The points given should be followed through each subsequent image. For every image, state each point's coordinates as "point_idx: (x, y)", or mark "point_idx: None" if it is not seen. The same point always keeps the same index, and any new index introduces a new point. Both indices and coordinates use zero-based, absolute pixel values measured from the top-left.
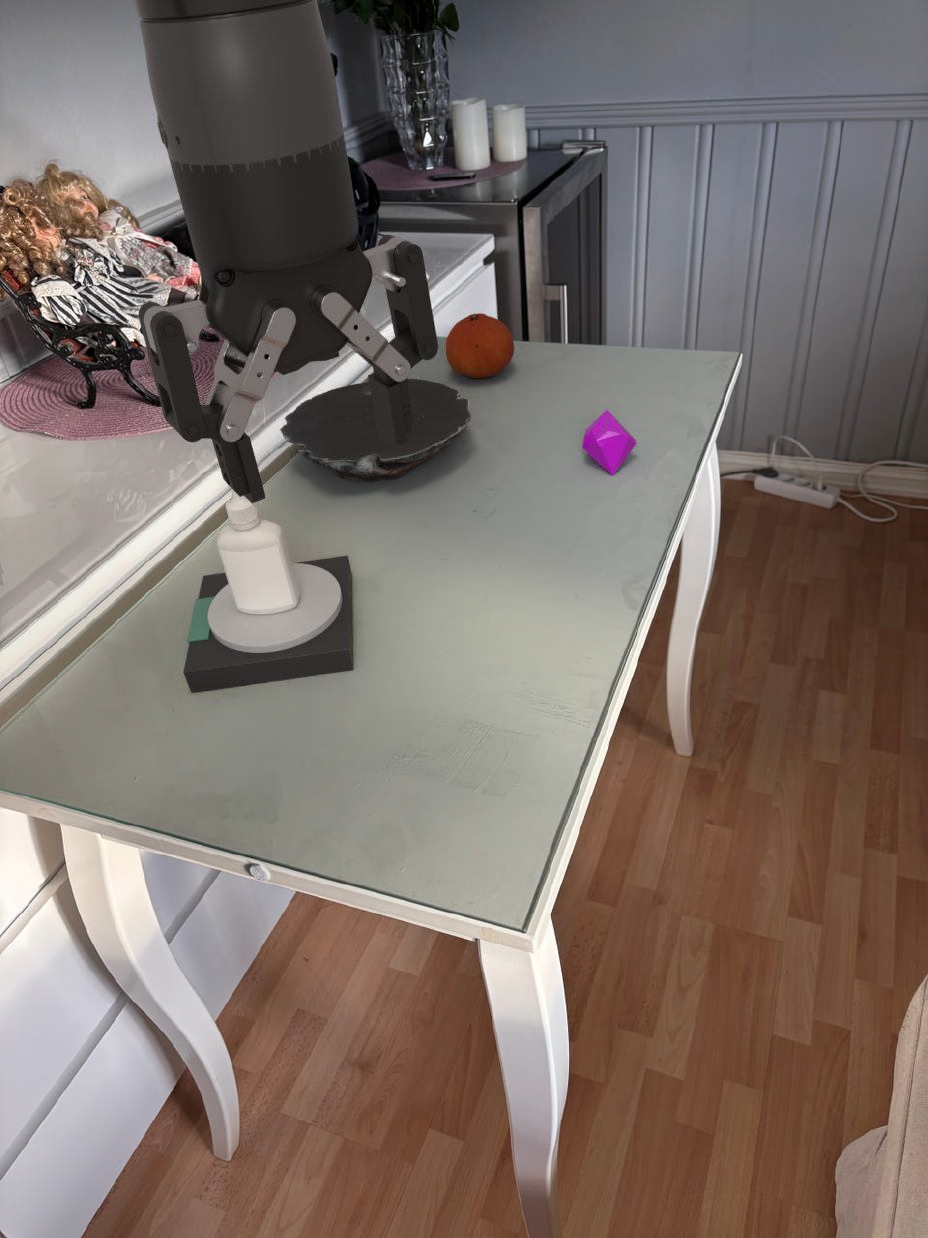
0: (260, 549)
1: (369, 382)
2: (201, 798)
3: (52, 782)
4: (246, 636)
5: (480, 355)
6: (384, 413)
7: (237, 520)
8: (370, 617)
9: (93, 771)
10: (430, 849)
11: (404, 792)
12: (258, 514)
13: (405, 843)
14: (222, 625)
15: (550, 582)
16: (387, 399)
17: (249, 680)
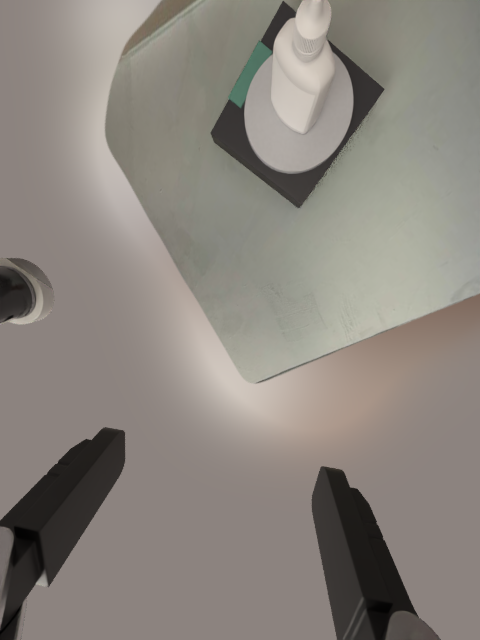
0: (299, 89)
1: (354, 576)
2: (182, 233)
3: (122, 154)
4: (258, 136)
5: None
6: (328, 541)
7: (296, 44)
8: (344, 167)
9: (143, 164)
10: (244, 338)
11: (257, 306)
12: (322, 46)
13: (239, 328)
14: (253, 106)
15: (450, 238)
16: (332, 600)
17: (245, 165)
